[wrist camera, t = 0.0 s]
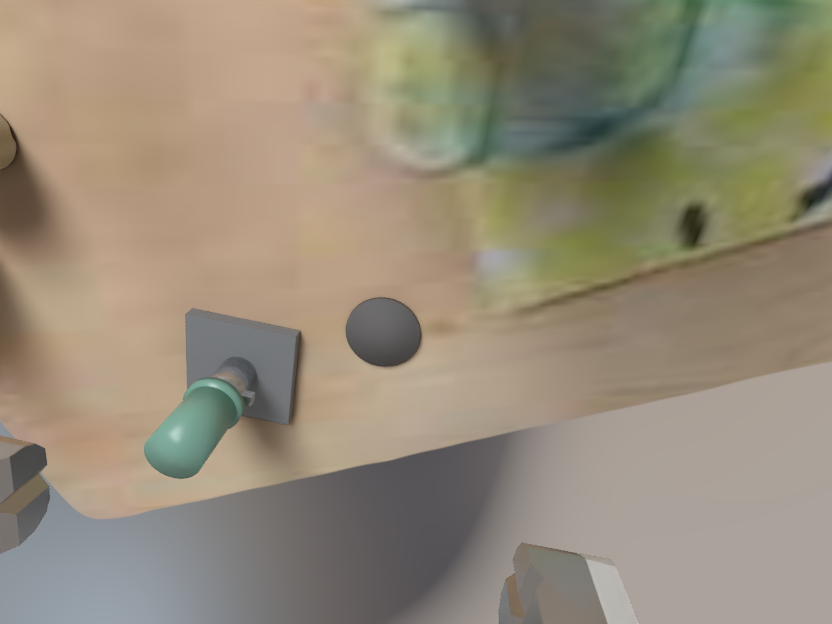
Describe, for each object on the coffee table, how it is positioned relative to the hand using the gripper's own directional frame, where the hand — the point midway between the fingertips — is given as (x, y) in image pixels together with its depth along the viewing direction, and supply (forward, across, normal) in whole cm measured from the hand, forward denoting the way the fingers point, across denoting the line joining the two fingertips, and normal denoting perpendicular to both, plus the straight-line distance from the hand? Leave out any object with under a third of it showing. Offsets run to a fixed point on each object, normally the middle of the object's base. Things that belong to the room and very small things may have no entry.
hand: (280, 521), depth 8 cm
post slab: (+41, +16, +21) cm, 49 cm away
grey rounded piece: (+40, +16, +21) cm, 48 cm away
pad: (+40, +1, +13) cm, 42 cm away
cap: (+34, +16, +22) cm, 43 cm away
